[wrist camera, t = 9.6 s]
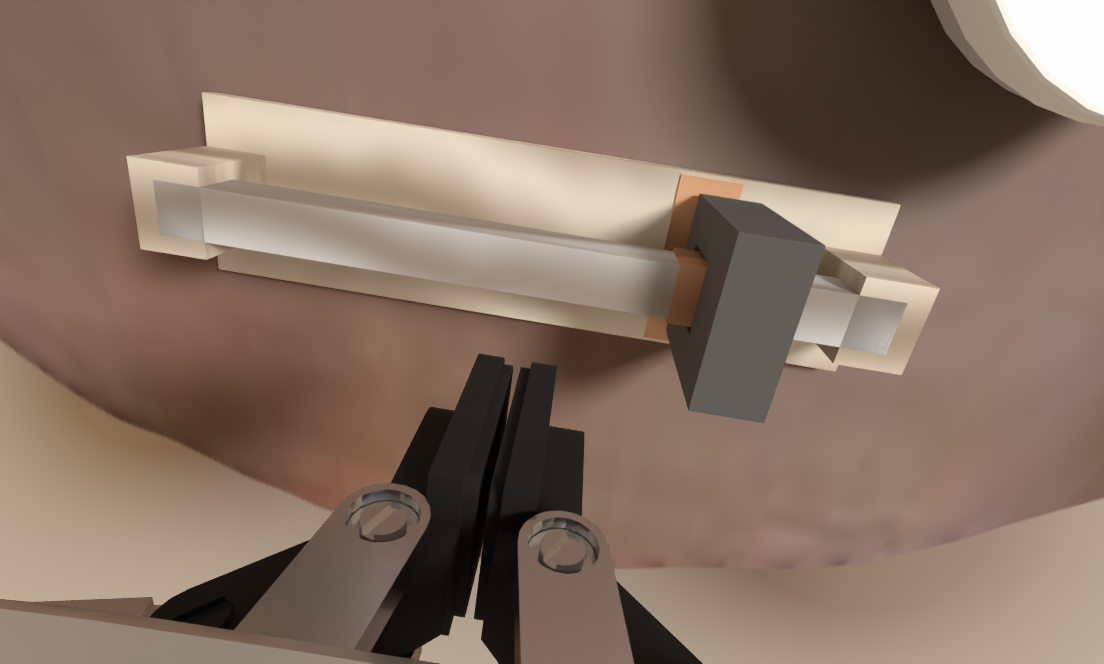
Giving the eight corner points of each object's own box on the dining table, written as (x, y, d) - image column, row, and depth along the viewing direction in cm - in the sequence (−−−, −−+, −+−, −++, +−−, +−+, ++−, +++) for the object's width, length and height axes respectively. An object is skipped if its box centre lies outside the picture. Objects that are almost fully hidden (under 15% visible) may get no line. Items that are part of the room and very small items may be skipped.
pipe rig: (214, 92, 28) (113, 91, 22) (890, 201, 28) (969, 229, 22) (229, 264, 32) (145, 302, 26) (828, 363, 31) (881, 425, 25)
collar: (699, 193, 27) (738, 231, 19) (761, 203, 27) (825, 245, 19) (665, 330, 30) (688, 410, 22) (722, 339, 30) (764, 423, 22)
